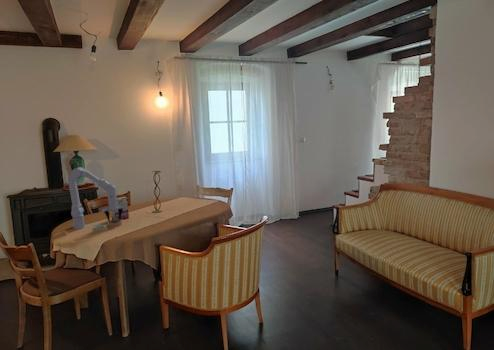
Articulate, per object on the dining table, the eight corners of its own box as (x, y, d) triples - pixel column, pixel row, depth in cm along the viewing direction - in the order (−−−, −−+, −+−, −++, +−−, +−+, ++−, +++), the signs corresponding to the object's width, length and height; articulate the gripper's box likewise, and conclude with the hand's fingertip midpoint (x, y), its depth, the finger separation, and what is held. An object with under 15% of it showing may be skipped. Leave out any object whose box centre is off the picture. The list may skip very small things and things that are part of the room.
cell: (111, 225, 267) (110, 217, 266) (117, 224, 270) (116, 216, 269) (113, 226, 264) (112, 218, 263) (118, 225, 266) (118, 217, 265)
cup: (106, 225, 268) (106, 221, 267) (119, 223, 273) (119, 218, 273) (109, 228, 260) (109, 224, 260) (123, 226, 265) (123, 221, 265)
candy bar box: (125, 217, 291) (123, 196, 289) (129, 218, 288) (127, 197, 286) (112, 220, 283) (110, 199, 281) (115, 221, 280) (113, 200, 277)
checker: (90, 228, 262) (89, 226, 262) (104, 226, 268) (104, 223, 267) (93, 232, 254) (93, 229, 253) (108, 229, 259) (107, 226, 259)
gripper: (103, 204, 257) (105, 223, 259) (124, 201, 265) (126, 219, 267) (101, 202, 263) (103, 221, 265) (121, 199, 271) (123, 217, 273)
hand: (114, 220), depth 266 cm, fingers open, 7 cm apart
